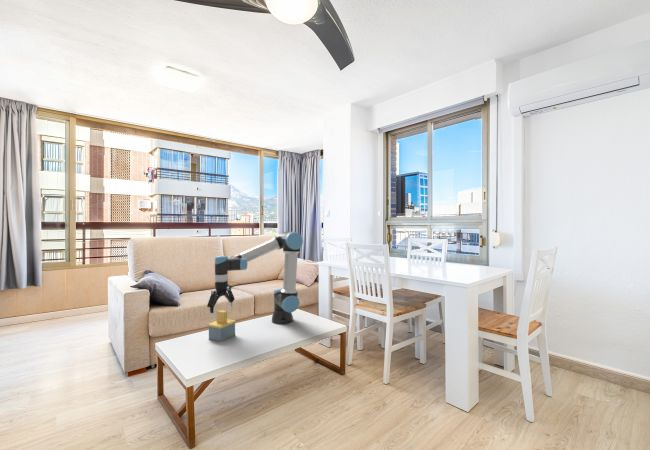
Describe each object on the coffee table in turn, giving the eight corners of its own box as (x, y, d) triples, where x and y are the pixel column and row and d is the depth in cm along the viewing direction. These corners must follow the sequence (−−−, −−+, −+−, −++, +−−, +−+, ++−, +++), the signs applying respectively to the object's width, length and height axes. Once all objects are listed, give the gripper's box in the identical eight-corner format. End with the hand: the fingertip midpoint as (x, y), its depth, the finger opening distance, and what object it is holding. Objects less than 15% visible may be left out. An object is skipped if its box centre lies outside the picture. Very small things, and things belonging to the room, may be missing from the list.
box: (223, 332, 199) (223, 320, 199) (235, 335, 195) (235, 322, 195) (208, 339, 189) (208, 326, 189) (220, 341, 184) (220, 328, 184)
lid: (223, 321, 200) (223, 307, 200) (235, 324, 195) (235, 309, 195) (207, 327, 189) (207, 312, 189) (220, 330, 184) (220, 315, 184)
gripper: (231, 277, 204) (231, 309, 204) (200, 283, 182) (200, 319, 182) (240, 278, 201) (240, 310, 201) (209, 285, 179) (209, 321, 179)
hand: (221, 315), depth 192 cm, fingers open, 13 cm apart
